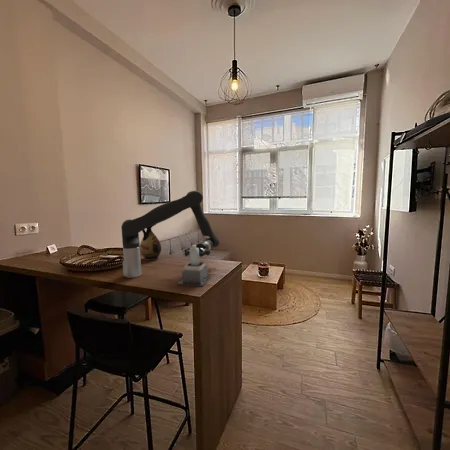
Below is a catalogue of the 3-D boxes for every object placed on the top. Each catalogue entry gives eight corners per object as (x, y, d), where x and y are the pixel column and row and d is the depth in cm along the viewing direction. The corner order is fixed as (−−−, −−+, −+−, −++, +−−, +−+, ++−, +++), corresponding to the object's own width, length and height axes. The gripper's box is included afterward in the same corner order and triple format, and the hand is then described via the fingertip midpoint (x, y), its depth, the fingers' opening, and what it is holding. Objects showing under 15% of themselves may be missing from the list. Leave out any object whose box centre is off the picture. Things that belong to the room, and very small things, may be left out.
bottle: (189, 269, 134) (187, 246, 132) (192, 266, 139) (191, 244, 137) (197, 270, 133) (196, 246, 131) (200, 267, 138) (199, 244, 136)
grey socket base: (177, 285, 131) (176, 267, 129) (189, 275, 146) (188, 259, 145) (202, 286, 127) (202, 269, 126) (211, 276, 143) (211, 260, 142)
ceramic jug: (154, 255, 197) (152, 217, 193) (166, 258, 186) (163, 218, 183) (134, 260, 184) (131, 219, 180) (145, 263, 174) (142, 220, 170)
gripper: (191, 241, 150) (180, 247, 134) (214, 242, 146) (205, 248, 131) (192, 253, 151) (181, 261, 135) (214, 254, 147) (206, 262, 132)
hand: (193, 254), depth 133 cm, fingers open, 8 cm apart
